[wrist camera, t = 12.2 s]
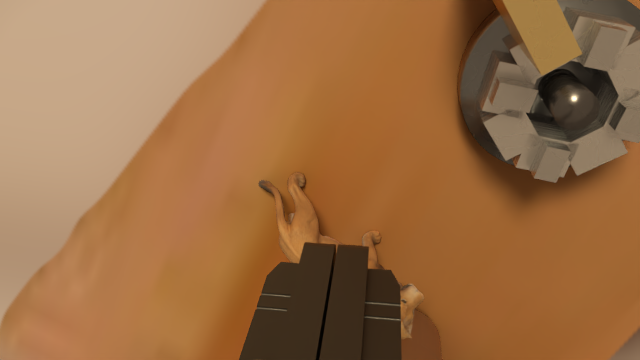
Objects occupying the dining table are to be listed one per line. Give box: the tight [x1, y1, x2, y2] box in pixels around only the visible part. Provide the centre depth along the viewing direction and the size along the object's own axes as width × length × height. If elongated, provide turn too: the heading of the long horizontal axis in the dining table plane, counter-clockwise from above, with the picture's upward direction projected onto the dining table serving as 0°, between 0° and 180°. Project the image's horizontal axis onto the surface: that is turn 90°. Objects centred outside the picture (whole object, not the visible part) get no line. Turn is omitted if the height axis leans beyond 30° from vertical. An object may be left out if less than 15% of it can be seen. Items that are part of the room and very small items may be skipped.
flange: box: [457, 0, 640, 167], centre depth 32 cm, size 12×12×6 cm
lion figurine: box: [259, 172, 424, 340], centre depth 39 cm, size 15×5×9 cm, turn 59°
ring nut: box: [476, 0, 640, 183], centre depth 28 cm, size 16×10×7 cm, turn 35°
